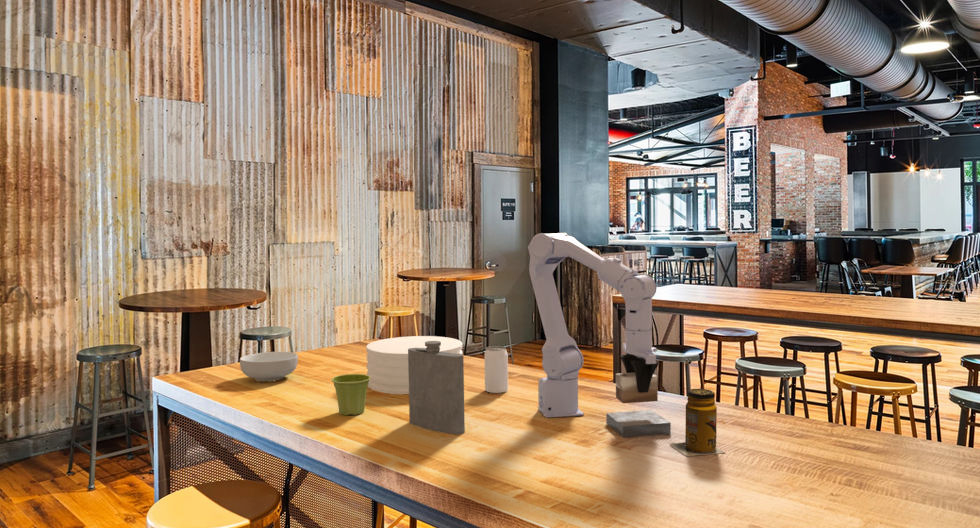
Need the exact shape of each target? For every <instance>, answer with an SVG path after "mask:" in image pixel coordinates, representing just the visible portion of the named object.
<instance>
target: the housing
mask: <svg viewBox="0 0 980 528" xmlns="http://www.w3.org/2000/svg"><path fill="white" fill-rule="evenodd" d="M658 381H659V379H658V375H657V374H655V373H653V376H652V379H651V383H650V387H649V390H648V392H644V393H639V392H638V389H637V383H636V375H635V373H626V372H623V373H622V372H621V373H620V372H619V373H615V398H616V400H618V401H619V402H621V403H622V404H634V403H647V402H648V403H649V402H651V403H653V402H658V401H659V400H658V398H659V397H658V396H659V395H658V394H659V393H658V391H659V390H658V388H659V387H658Z"/></svg>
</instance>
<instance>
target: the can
mask: <svg viewBox="0 0 980 528" xmlns="http://www.w3.org/2000/svg"><path fill="white" fill-rule="evenodd" d="M507 351H508V350H507V347H505V346H501V345H500V346H497V345H496V346H494V345H492V346H488V347H486V348H485V352H484V390H485V392H486V391H487V392H486V393H488V392H490V393H489V394H494V393H499V394H503V393H502V392H505V393H507V392H506V391H508V390H509V358H508V357H509V354H508V352H507Z"/></svg>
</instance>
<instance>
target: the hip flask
mask: <svg viewBox="0 0 980 528" xmlns="http://www.w3.org/2000/svg"><path fill="white" fill-rule="evenodd" d="M425 346H427V348H409V349H408V372H409V395H408V405H409V406H408V407H409V408H408V410H409V411H408V412H409V414H408V415H409V417H408V418H409V424H410V425H413V426H415V427H419V428H421V429H426V430H429V431H432V432H433V431H434V432H438V433H442V434H448V435H454V436H459V435H463V434H465V433H466V431H465V422H466V421H465V380H464V378H465V375H464V374H465V372H464V371H465V370H464V369H465V368H464V367H465V366H464V365H465V364H464V362H465V361H464V354H456V353H447V352H439V350H440V347H439V346H441V342H440V341H427V342H425Z"/></svg>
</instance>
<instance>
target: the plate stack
mask: <svg viewBox="0 0 980 528" xmlns="http://www.w3.org/2000/svg"><path fill="white" fill-rule="evenodd" d="M427 341H440V342H441V346H439V347H440V350H439V352H447V353H456V354H463V350H462V349H463V342H462V340H460V339H457V338H453V337H447V336H446V337H445V336H437V335H414V336H413V335H411V336H410V335H409V336H398V337H397V336H396V337H389V338H384V339H379V340H374V341H372V342H370V343H368V344H366V353H367V354H366V361H367V363H366V369H367V372H366V375H368V376H370V377H371V379H370V380H369V384H368V386H367V388H368V389H370V388H371V389H370V390H372V391H374V390H375V392H377V391H379V392H378V393H382V392H383V394H388V393H389V394H390V395H402V394H409V372H408V349H409V348H427V346H425V342H427ZM463 355H464V354H463Z"/></svg>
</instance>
